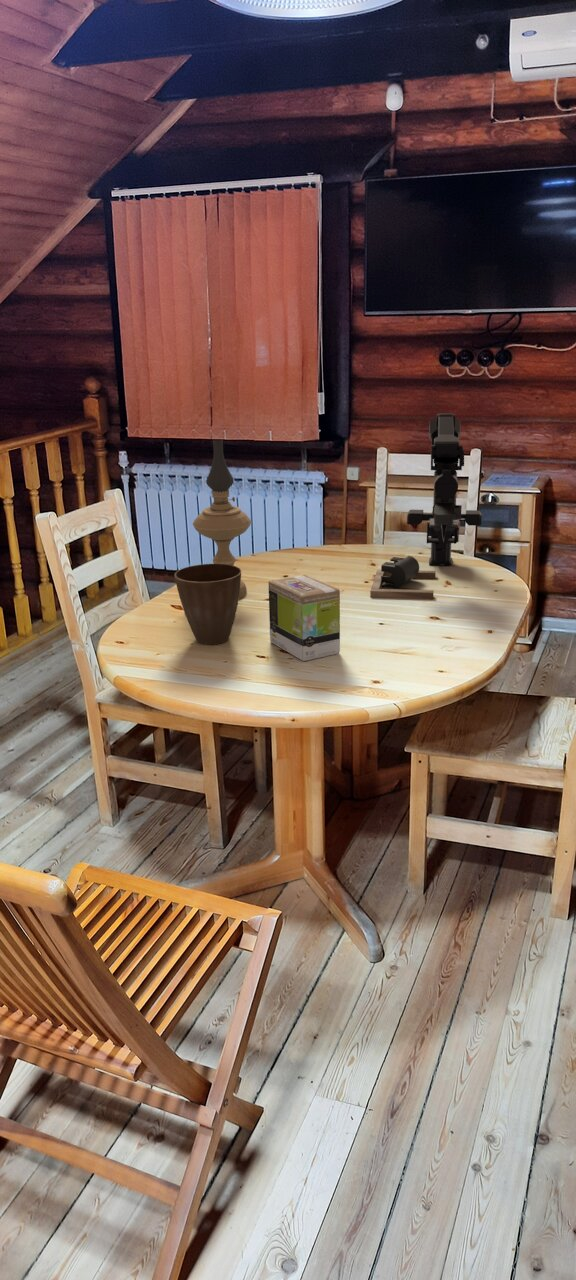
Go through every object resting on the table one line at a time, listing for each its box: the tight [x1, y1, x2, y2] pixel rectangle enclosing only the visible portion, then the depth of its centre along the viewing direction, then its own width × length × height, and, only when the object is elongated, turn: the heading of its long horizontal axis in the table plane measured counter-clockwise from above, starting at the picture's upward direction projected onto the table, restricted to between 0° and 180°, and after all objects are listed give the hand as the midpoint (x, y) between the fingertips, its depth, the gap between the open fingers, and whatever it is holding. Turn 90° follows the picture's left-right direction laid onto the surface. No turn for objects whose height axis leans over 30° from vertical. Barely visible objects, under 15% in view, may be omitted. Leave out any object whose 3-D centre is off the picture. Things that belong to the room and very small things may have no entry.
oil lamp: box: [192, 439, 252, 599], centre depth 241 cm, size 15×15×40 cm
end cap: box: [380, 555, 420, 589], centre depth 251 cm, size 10×7×7 cm
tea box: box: [268, 574, 341, 662], centre depth 206 cm, size 15×10×15 cm
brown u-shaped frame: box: [369, 568, 437, 600], centre depth 250 cm, size 20×16×2 cm
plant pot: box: [174, 563, 242, 646], centre depth 213 cm, size 15×15×16 cm
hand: (443, 550), depth 244 cm, fingers closed
